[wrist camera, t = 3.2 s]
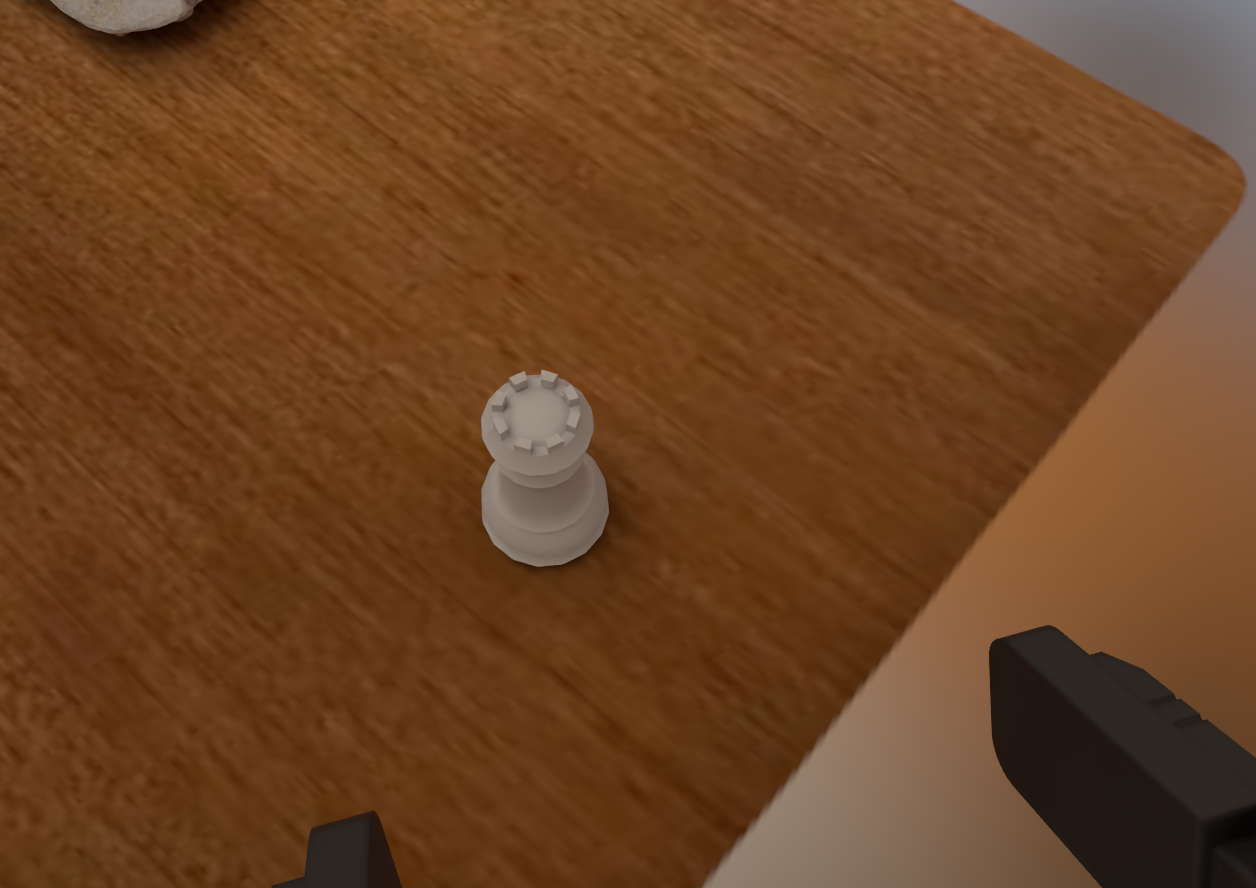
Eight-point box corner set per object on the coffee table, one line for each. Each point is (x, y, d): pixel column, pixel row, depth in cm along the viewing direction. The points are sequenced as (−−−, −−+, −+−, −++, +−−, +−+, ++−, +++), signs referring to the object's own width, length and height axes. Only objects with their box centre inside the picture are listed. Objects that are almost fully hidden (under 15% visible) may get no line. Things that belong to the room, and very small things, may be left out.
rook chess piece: (500, 587, 34) (477, 501, 27) (469, 471, 36) (439, 361, 29) (625, 550, 35) (635, 458, 28) (588, 439, 37) (589, 324, 30)
